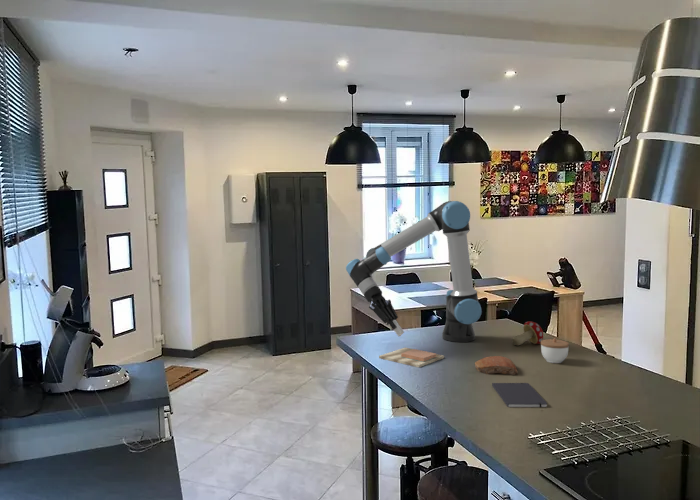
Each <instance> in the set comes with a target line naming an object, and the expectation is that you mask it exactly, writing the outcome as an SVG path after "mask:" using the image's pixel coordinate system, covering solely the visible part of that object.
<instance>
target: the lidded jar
mask: <svg viewBox="0 0 700 500" xmlns="http://www.w3.org/2000/svg"><path fill="white" fill-rule="evenodd" d="M569 343H570V342H568V341H565V340H561V339H557V338H555V337H553V339H551V338H548V339H542V341H541V343H540V351H541V356H542V357H543V358H544V360H545V361H546V362H547V363H551V364H561V363H563V362H564V361H565V360H566V359H567V357H568V354H569V347H570V344H569Z"/></svg>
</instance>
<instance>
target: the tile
mask: <svg viewBox="0 0 700 500" xmlns="http://www.w3.org/2000/svg"><path fill="white" fill-rule="evenodd" d="M412 349H413V350H410V351H407V352H404V353H401V357H403V358H407V359H412V360H416V361H421V362H425V361H428V360H431V359H433V358H436V354H437V353H435V352H430V351H426V350H421V349H417V348H416V349H415V348H412Z"/></svg>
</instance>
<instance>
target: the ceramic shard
mask: <svg viewBox="0 0 700 500" xmlns="http://www.w3.org/2000/svg"><path fill="white" fill-rule="evenodd" d="M474 365H475V370H476V371H478V372H480V373H483V374H486V375H492V374H504V375H510V376H511V375H513V376H517V375H518V370H517V366H516V364H515V362H514V361H512V360H511V359H510V358H508V357H506V356H501V355H492V356H487V357H483V358H481V359H479V360H476V361H475V362H474Z"/></svg>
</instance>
